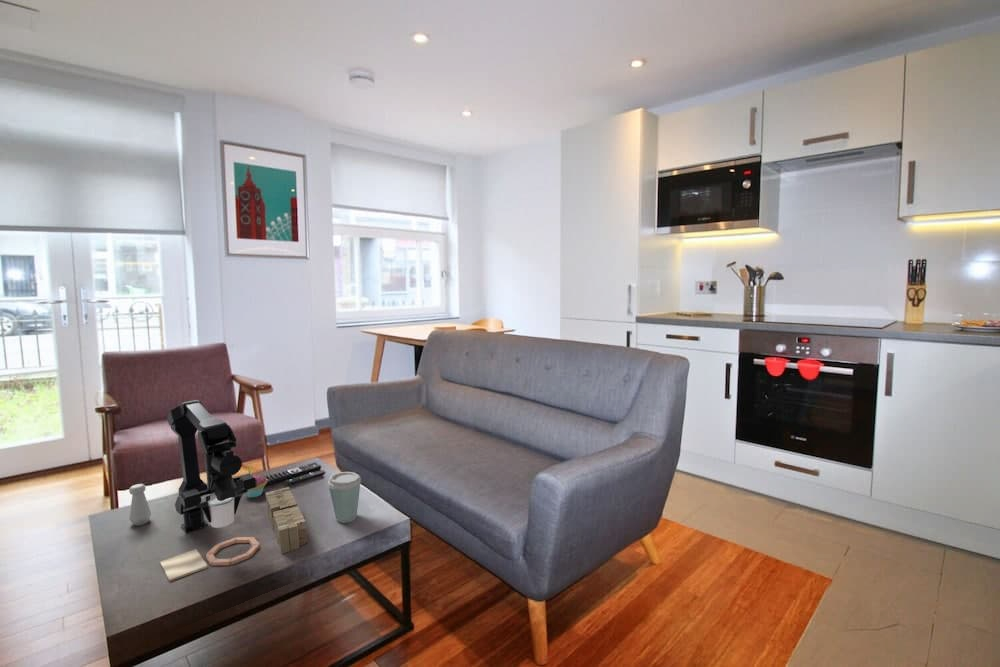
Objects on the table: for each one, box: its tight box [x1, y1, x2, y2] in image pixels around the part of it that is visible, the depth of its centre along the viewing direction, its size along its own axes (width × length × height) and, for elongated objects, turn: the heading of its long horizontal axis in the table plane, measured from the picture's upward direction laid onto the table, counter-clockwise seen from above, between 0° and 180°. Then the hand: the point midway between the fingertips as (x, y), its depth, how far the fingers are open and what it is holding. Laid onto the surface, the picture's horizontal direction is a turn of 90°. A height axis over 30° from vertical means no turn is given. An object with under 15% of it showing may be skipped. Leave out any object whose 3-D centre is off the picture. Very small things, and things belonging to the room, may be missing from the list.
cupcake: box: [245, 463, 268, 499], centre depth 182 cm, size 9×8×12 cm
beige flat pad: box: [159, 548, 208, 583], centre depth 138 cm, size 12×9×1 cm
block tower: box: [265, 486, 308, 554], centre depth 157 cm, size 8×8×29 cm
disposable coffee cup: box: [327, 471, 362, 524], centre depth 162 cm, size 11×11×15 cm
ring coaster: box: [205, 536, 260, 566], centre depth 144 cm, size 13×13×1 cm
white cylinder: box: [208, 496, 235, 529], centre depth 142 cm, size 7×7×7 cm
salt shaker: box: [128, 483, 152, 527], centre depth 162 cm, size 6×6×13 cm
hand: (222, 517), depth 142 cm, fingers closed on white cylinder, 6 cm apart
